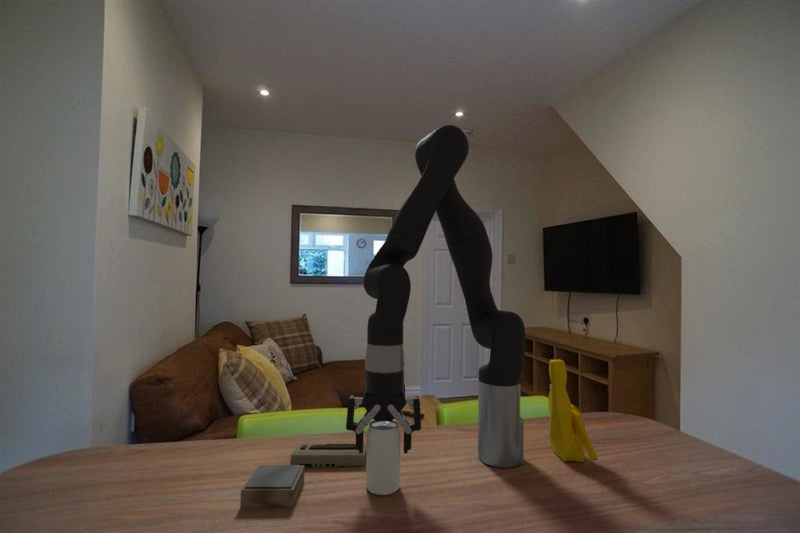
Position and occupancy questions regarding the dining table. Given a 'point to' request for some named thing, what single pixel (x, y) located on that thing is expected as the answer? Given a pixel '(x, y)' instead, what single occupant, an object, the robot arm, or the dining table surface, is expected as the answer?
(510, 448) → the robot arm
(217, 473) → the dining table surface
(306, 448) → the computer
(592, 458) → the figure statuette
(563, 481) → the dining table surface
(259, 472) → the stand
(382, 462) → the can
